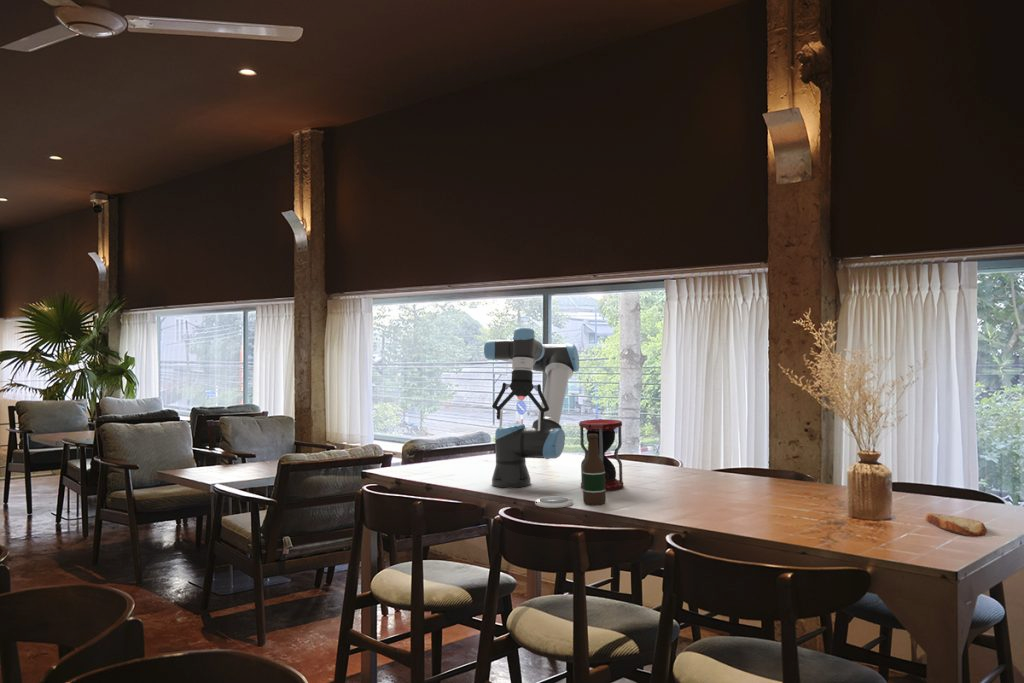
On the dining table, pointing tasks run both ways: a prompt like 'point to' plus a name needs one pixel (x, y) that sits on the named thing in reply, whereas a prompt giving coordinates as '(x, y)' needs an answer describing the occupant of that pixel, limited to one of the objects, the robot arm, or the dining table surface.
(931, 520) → the bread slice
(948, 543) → the dining table surface
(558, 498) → the plate
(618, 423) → the hourglass
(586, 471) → the beer bottle
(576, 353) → the robot arm
